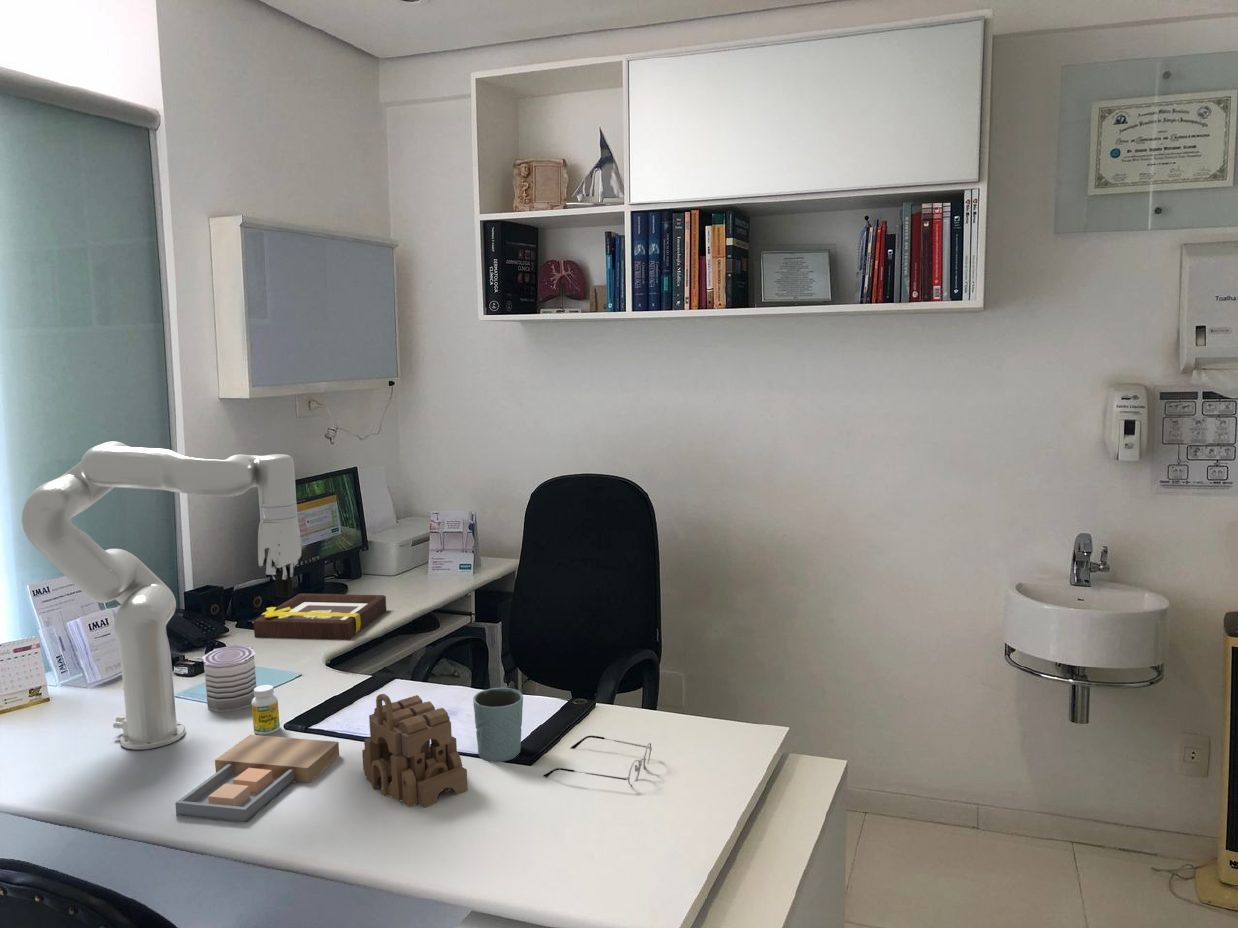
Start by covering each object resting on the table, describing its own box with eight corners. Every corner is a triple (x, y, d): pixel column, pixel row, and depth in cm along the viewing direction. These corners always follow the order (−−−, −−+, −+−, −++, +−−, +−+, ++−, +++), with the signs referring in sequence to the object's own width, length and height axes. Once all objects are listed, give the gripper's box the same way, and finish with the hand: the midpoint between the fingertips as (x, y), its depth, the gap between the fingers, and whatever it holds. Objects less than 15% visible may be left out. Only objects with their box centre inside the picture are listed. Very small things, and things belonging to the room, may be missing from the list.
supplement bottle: (276, 723, 216) (273, 681, 215) (282, 731, 212) (279, 688, 211) (251, 729, 213) (247, 686, 212) (257, 737, 209) (253, 694, 208)
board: (215, 774, 192) (214, 759, 192) (251, 748, 204) (250, 734, 203) (308, 782, 188) (307, 767, 187) (339, 755, 199) (338, 741, 199)
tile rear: (233, 790, 184) (232, 779, 184) (249, 778, 189) (248, 767, 189) (257, 792, 183) (256, 781, 183) (272, 780, 188) (271, 769, 187)
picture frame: (349, 618, 272) (248, 615, 276) (350, 641, 273) (250, 638, 277) (387, 591, 300) (294, 589, 304) (388, 612, 301) (296, 610, 305)
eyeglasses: (631, 795, 181) (631, 770, 180) (540, 781, 188) (539, 756, 187) (658, 759, 196) (658, 735, 195) (572, 747, 202) (572, 724, 202)
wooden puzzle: (477, 787, 185) (473, 692, 182) (409, 814, 175) (404, 715, 173) (415, 751, 201) (411, 664, 198) (350, 774, 191) (344, 683, 189)
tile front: (224, 783, 182) (225, 794, 182) (208, 796, 177) (209, 807, 178) (248, 785, 181) (249, 796, 181) (232, 798, 176) (233, 809, 177)
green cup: (498, 738, 206) (496, 683, 205) (535, 749, 200) (533, 693, 199) (464, 756, 198) (462, 699, 196) (502, 768, 192) (499, 710, 191)
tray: (176, 815, 176) (175, 802, 176) (229, 775, 191) (228, 763, 191) (246, 822, 173) (245, 809, 173) (294, 781, 188) (293, 769, 188)
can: (267, 694, 233) (264, 646, 232) (241, 713, 222) (237, 662, 221) (224, 692, 235) (220, 644, 234) (195, 710, 224) (191, 660, 223)
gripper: (282, 505, 217) (287, 586, 220) (242, 519, 202) (248, 605, 205) (312, 506, 215) (318, 587, 218) (275, 520, 201) (281, 606, 203)
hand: (284, 595), depth 212 cm, fingers closed
